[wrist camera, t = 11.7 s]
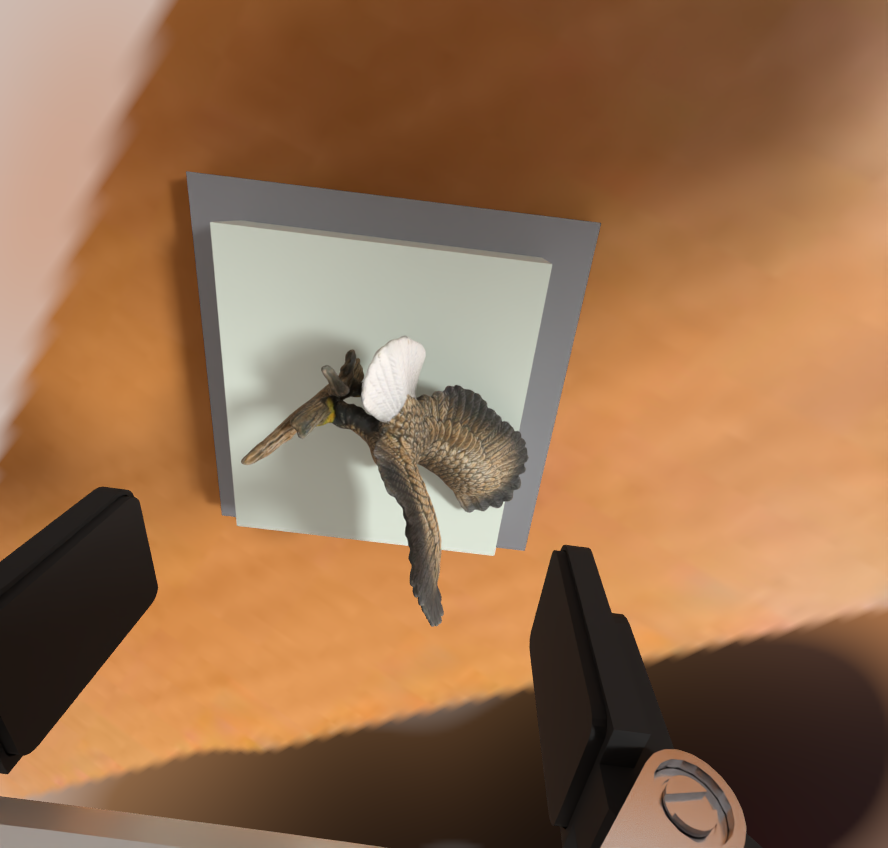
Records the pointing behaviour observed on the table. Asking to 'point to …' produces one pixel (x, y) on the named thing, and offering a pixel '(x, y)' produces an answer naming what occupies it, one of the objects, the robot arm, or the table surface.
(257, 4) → the table surface
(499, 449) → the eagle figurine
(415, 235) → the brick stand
